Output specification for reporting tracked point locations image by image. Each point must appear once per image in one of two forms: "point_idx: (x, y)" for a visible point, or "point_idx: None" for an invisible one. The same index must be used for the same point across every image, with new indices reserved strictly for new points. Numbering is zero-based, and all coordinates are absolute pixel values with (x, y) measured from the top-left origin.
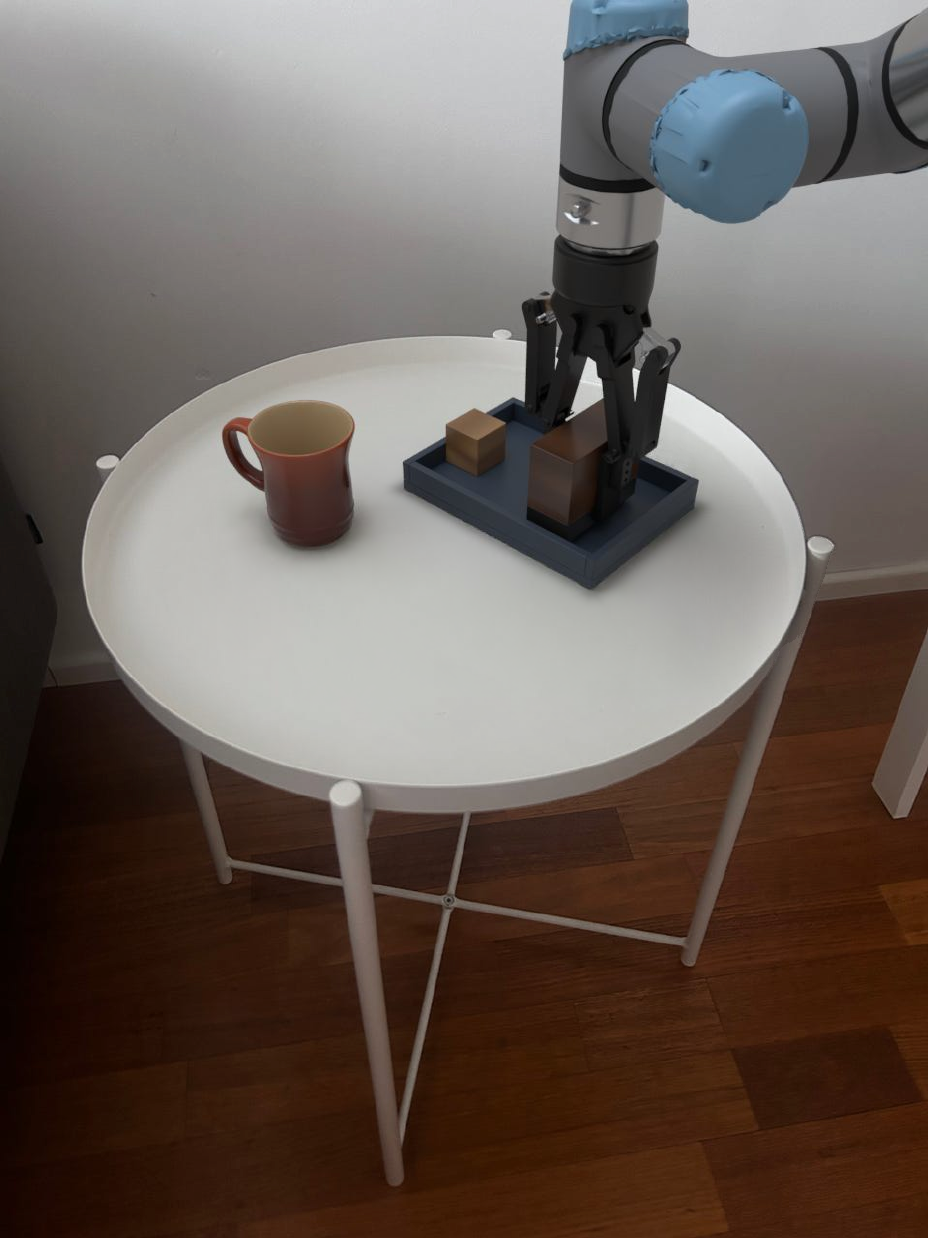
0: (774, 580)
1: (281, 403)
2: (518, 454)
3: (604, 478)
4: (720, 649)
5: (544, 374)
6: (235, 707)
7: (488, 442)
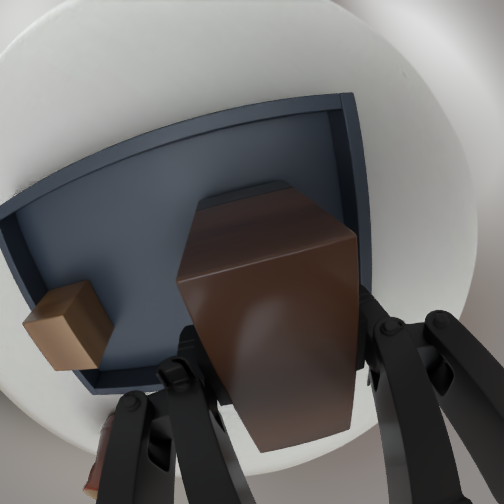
0: (456, 153)
1: (87, 494)
2: (83, 256)
3: None
4: (457, 265)
5: (159, 495)
6: (270, 467)
7: (90, 340)
